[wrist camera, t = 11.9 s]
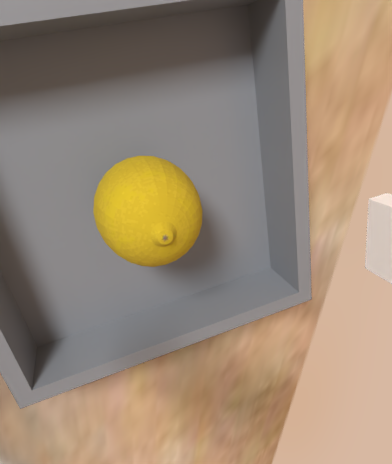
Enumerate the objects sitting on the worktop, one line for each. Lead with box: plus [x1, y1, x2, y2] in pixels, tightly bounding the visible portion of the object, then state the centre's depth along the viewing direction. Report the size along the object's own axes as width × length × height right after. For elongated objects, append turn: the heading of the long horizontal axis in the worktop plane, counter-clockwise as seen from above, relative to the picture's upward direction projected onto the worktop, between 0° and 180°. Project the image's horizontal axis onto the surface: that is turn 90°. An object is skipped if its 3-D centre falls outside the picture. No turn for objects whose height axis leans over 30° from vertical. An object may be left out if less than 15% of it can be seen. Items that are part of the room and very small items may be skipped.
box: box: [0, 0, 312, 409], centre depth 21 cm, size 20×20×4 cm
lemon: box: [93, 156, 202, 267], centre depth 19 cm, size 6×6×8 cm
